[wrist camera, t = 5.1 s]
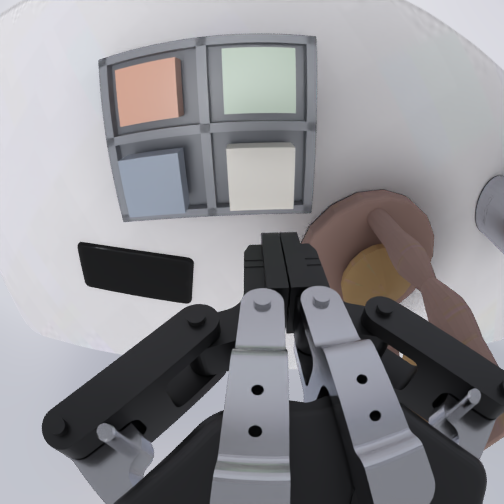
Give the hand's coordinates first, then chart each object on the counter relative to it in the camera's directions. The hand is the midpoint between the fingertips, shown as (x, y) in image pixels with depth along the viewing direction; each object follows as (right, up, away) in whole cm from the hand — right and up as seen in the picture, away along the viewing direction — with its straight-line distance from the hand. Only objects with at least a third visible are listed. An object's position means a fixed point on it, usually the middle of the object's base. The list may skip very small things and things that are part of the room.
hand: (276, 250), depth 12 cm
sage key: (-1, +13, +6) cm, 14 cm away
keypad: (-5, +11, +10) cm, 16 cm away
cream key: (0, +6, +10) cm, 12 cm away
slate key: (-9, +6, +10) cm, 15 cm away
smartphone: (-15, -2, +19) cm, 25 cm away
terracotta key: (-9, +13, +7) cm, 18 cm away
